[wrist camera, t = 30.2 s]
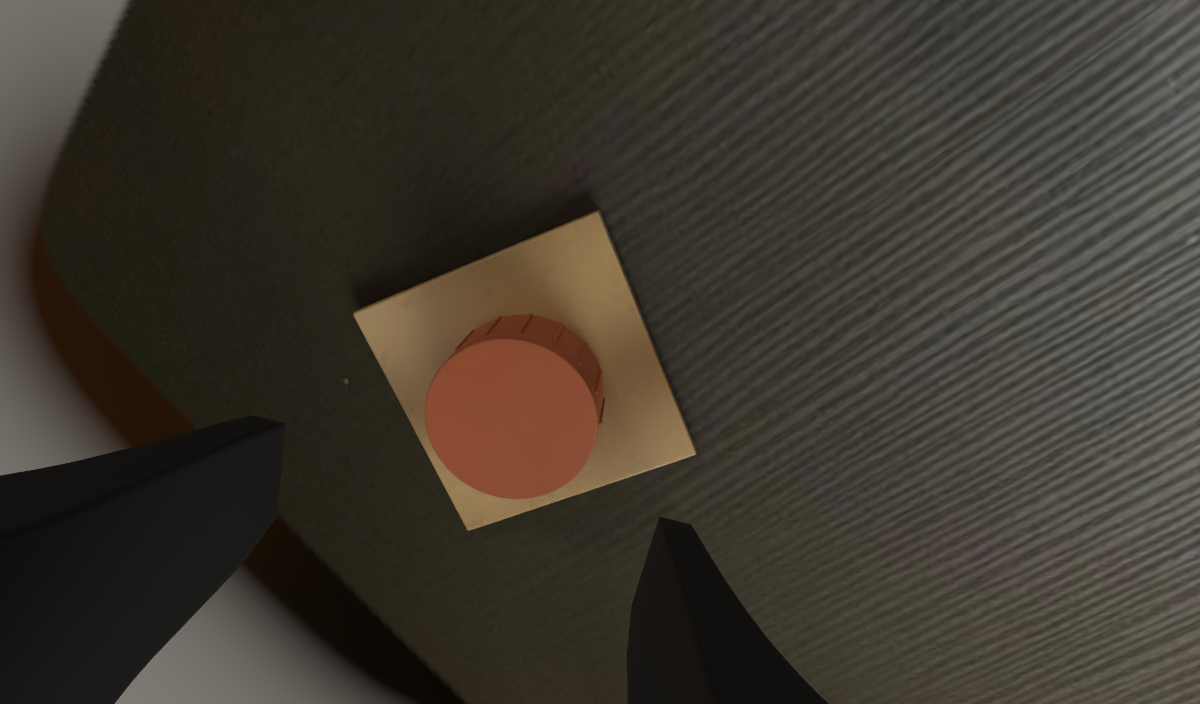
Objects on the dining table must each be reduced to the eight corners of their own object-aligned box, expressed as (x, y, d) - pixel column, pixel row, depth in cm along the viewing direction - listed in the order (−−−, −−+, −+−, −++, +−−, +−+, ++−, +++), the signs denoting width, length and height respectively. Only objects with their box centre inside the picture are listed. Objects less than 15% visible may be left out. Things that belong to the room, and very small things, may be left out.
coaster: (359, 308, 19) (351, 313, 19) (599, 209, 18) (598, 211, 17) (472, 521, 21) (467, 532, 21) (695, 446, 20) (697, 455, 19)
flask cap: (437, 319, 19) (408, 344, 16) (596, 306, 18) (589, 330, 16) (462, 463, 20) (439, 504, 18) (611, 454, 20) (606, 496, 17)
